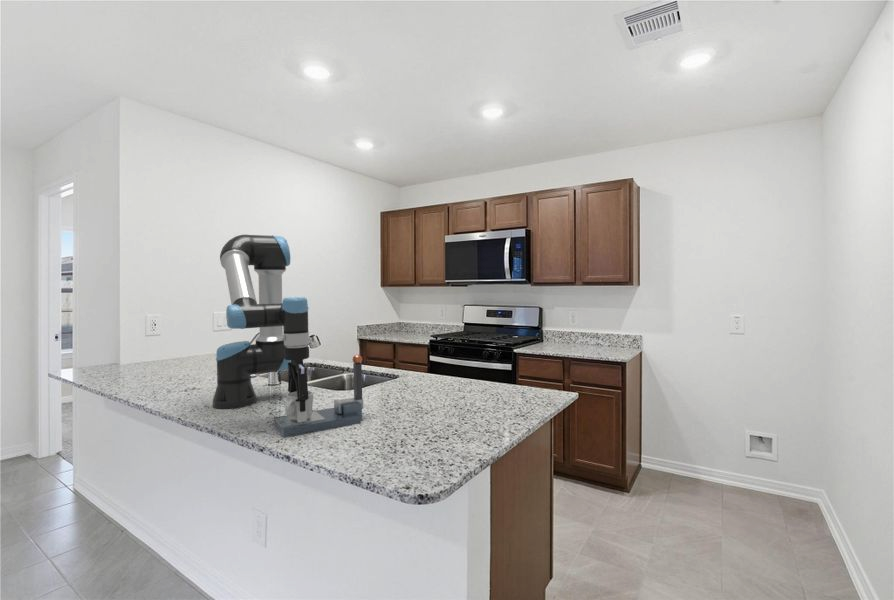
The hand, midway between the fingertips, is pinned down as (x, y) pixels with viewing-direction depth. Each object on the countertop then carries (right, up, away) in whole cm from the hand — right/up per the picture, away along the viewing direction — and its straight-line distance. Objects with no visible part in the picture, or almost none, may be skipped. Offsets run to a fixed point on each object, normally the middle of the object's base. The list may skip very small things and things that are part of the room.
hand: (298, 418), depth 139 cm
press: (+6, -3, +4) cm, 8 cm away
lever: (+14, 0, +9) cm, 17 cm away
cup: (0, -1, -1) cm, 1 cm away
